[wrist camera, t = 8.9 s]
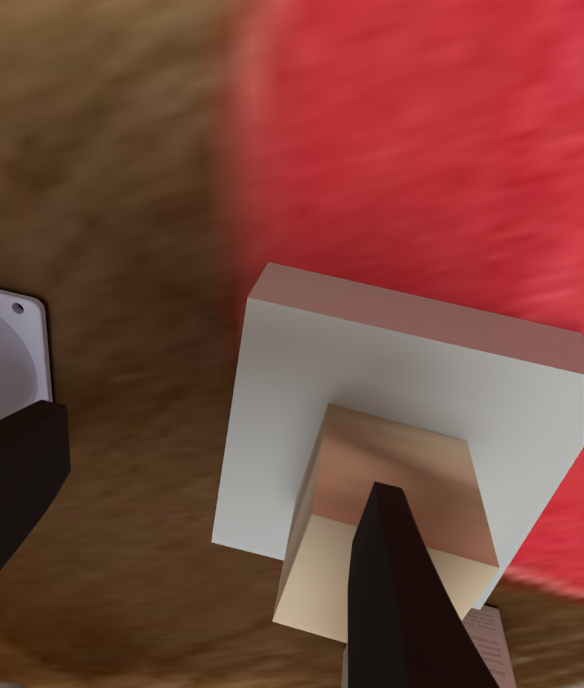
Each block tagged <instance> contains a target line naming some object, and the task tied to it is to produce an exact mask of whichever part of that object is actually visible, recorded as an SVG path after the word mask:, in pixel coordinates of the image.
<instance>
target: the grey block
mask: <svg viewBox="0 0 584 688" xmlns="http://www.w3.org/2000/svg"><path fill="white" fill-rule="evenodd" d="M328 403H331V404H335V405H338V406H342V407H345V408H349V409H352V410H356V411H359V412H363V413H366V414H370V415H374V416H377V417H381V418H384V419H388V420H391V421H395V422H398V423H402V424H405V425H409V426H412V427H416V428H419V429H423V430H426V431H430V432H434V433H437V434H441V435H444V436H448V437H451V438H455V439H458V440H462V441H465V442H467V443H468V447H469V451H470V455H471V458H472V462H473V466H474V470H475V474H476V478H477V482H478V486H479V490H480V494H481V497H482V501H483V505H484V509H485V513H486V517H487V521H488V525H489V529H490V532H491V536H492V540H493V544H494V548H495V552H496V556H497V560H498V564H499V570H498V571H497V572H496V574H495V575H494V577H493V578H492V579H491V581H490V582H489V584H488V585H487V586H486V588H485V589H484V591H483V592H482V593H481V595H480V596H479V598H478V599H477V600H476V602H475V603H474V605H473V606H472V607H471V608H474V609H478V610H480V609H481V608H482V606H483V605H484V603H485V601H486V600H487V598H488V597H489V595H490V594H491V592H492V590H493V589H494V587H495V586H496V584H497V582H498V581H499V579H500V578H501V576H502V575H503V573H504V571H505V570H506V568H507V567H508V565H509V564H510V562H511V560H512V559H513V557H514V556H515V554H516V553H517V551H518V549H519V548H520V546H521V545H522V543H523V541H524V540H525V538H526V537H527V535H528V534H529V532H530V530H531V529H532V527H533V526H534V524H535V523H536V521H537V519H538V518H539V516H540V515H541V513H542V511H543V510H544V508H545V507H546V505H547V504H548V502H549V500H550V499H551V497H552V496H553V494H554V493H555V491H556V489H557V488H558V486H559V485H560V483H561V482H562V480H563V478H564V477H565V475H566V474H567V472H568V470H569V469H570V467H571V466H572V464H573V463H574V461H575V459H576V458H577V456H578V455H579V453H580V452H581V450H582V448H583V447H584V336H583V335H582V334H581V333H580V332H575V331H571V330H567V329H562V328H558V327H553V326H549V325H545V324H540V323H536V322H531V321H527V320H523V319H518V318H514V317H509V316H505V315H500V314H496V313H492V312H487V311H483V310H478V309H474V308H470V307H465V306H461V305H456V304H452V303H448V302H443V301H439V300H434V299H430V298H425V297H421V296H417V295H412V294H408V293H403V292H399V291H395V290H390V289H386V288H381V287H377V286H373V285H368V284H364V283H359V282H355V281H350V280H346V279H342V278H337V277H333V276H328V275H324V274H320V273H315V272H311V271H306V270H302V269H298V268H293V267H289V266H284V265H280V264H275V263H271V262H268V263H267V265H266V267H265V268H264V270H263V272H262V274H261V275H260V277H259V279H258V280H257V282H256V284H255V285H254V287H253V289H252V290H251V292H250V294H249V296H248V297H247V304H246V311H245V317H244V324H243V331H242V338H241V345H240V351H239V358H238V365H237V372H236V378H235V385H234V392H233V399H232V406H231V412H230V419H229V426H228V433H227V439H226V446H225V453H224V460H223V467H222V473H221V480H220V487H219V494H218V501H217V507H216V514H215V521H214V528H213V534H212V541H211V542H213V543H217V544H221V545H225V546H229V547H233V548H236V549H240V550H244V551H248V552H252V553H256V554H260V555H264V556H268V557H272V558H276V559H280V560H284V558H285V553H286V548H287V543H288V537H289V532H290V527H291V522H292V517H293V511H294V506H295V501H296V498H297V495H298V492H299V489H300V486H301V483H302V480H303V477H304V474H305V471H306V468H307V465H308V462H309V459H310V456H311V453H312V450H313V447H314V444H315V441H316V438H317V435H318V432H319V429H320V426H321V423H322V420H323V417H324V414H325V411H326V408H327V406H328Z"/></svg>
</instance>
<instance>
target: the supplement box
mask: <svg viewBox="0 0 584 688" xmlns="http://www.w3.org/2000/svg"><path fill="white" fill-rule="evenodd" d="M462 623H463V625H464V627H465V629H466V630H467V632H468V634H469V636H470V638H471V639H472V641H473V643H474V645H475V647H476V648H477V650H478V652H479V654H480V655H481V657H482V659H483V661H484V662H485V664H486V665H487V667H488V669H489V670H490V672H491V674H492V675H493V677H494V679H495V680H496V682H497V684H498V685H499V687H500V688H516V683H515V679H514V675H513V670H512V666H511V661H510V656H509V653H508V648H507V644H506V640H505V636H504V631H503V627H502V623H501V618H500V613H499V610H498V609H496V608H493V607H489V606H485V605H483V606H482V608H481V609H480V610H478V609H474V608H471V609H470V610H469V612H468V613H467V614H466V616H465V617H464V618H463V620H462ZM341 688H348V643H347V645H346V647H345V650H344V653H343V670H342V685H341Z"/></svg>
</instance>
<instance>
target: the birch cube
mask: <svg viewBox="0 0 584 688" xmlns="http://www.w3.org/2000/svg"><path fill="white" fill-rule="evenodd" d="M374 481H376V482H380V483H384V484H388V485H392V486H396V487H400V488H402V489H403V491H404V493H405V495H406V498H407V501H408V503H409V506H410V509H411V511H412V514H413V517H414V519H415V522H416V524H417V527H418V529H419V532H420V534H421V536H422V539H423V541H424V544H425V546H426V548H427V550H428V553H429V555H430V557H431V560H432V562H433V564H434V566H435V568H436V570H437V572H438V575H439V577H440V579H441V581H442V583H443V585H444V588H445V590H446V592H447V594H448V596H449V598H450V600H451V602H452V604H453V606H454V608H455V609H456V611H457V613H458V615H459V617H460V619H461V621H462V620H463V618H464V617H465V616H466V614H467V613H468V612H469V610H470V609H471V607H472V606H473V605H474V603H475V602H476V600H477V599H478V598H479V596H480V595H481V593H482V592H483V591H484V589H485V588H486V586H487V585H488V584H489V582H490V581H491V579H492V578H493V577H494V575H495V574H496V572H497V571H498V570H499V564H498V560H497V556H496V552H495V548H494V544H493V540H492V536H491V532H490V529H489V525H488V521H487V517H486V513H485V509H484V505H483V501H482V497H481V494H480V490H479V486H478V482H477V478H476V474H475V470H474V466H473V462H472V458H471V455H470V451H469V447H468V443H467V442H465V441H462V440H458V439H455V438H451V437H448V436H444V435H441V434H437V433H434V432H430V431H426V430H423V429H419V428H416V427H412V426H409V425H405V424H402V423H398V422H395V421H391V420H388V419H384V418H381V417H377V416H374V415H370V414H366V413H363V412H359V411H356V410H352V409H349V408H345V407H342V406H338V405H335V404H331V403H328V406H327V408H326V411H325V414H324V417H323V420H322V423H321V426H320V429H319V432H318V435H317V438H316V441H315V444H314V447H313V450H312V453H311V456H310V459H309V462H308V465H307V468H306V471H305V474H304V477H303V480H302V483H301V486H300V489H299V492H298V495H297V498H296V501H295V506H294V511H293V517H292V522H291V527H290V532H289V537H288V543H287V548H286V553H285V558H284V563H283V569H282V574H281V579H280V584H279V589H278V594H277V600H276V605H275V610H274V615H273V620H272V621H273V622H276V623H280V624H283V625H286V626H290V627H293V628H297V629H300V630H303V631H307V632H310V633H314V634H317V635H320V636H324V637H327V638H331V639H334V640H337V641H341V642H344V643H348V578H349V567H350V558H351V549H352V541H353V538H354V535H355V533H356V530H357V527H358V525H359V522H360V519H361V517H362V514H363V511H364V508H365V506H366V503H367V500H368V498H369V495H370V492H371V490H372V487H373V484H374Z"/></svg>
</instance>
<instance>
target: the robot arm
mask: <svg viewBox="0 0 584 688" xmlns="http://www.w3.org/2000/svg"><path fill="white" fill-rule="evenodd" d="M18 303H19V304H20V305H21V306H22V307H23V309H24V310H23V309H21V308H20V307H19V305H18ZM70 471H71V468H70V452H69V437H68V421H67V406H66V405H62V404H58V403H54V402H53V401H52V388H51V376H50V364H49V352H48V340H47V327H46V315H45V308H44V306H43V304H42V303H41V302H40V301H39V300H38V299H36V298H33V297H29V296H25V295H21V294H17V293H12V292H8V291H4V290H0V570H1V569H2V568H3V566H4V565H5V564H6V562H7V561H8V560H9V559H10V557H11V556H12V555H13V554H14V552H15V551H16V550H17V548H18V547H19V546H20V545H21V543H22V542H23V541H24V539H25V538H26V537H27V536H28V534H29V533H30V532H31V530H32V529H33V528H34V527H35V525H36V524H37V523H38V521H39V520H40V519H41V517H42V516H43V515H44V513H45V512H46V511H47V509H48V508H49V506H50V505H51V503H52V501H53V500H54V498H55V496H56V495H57V493H58V492H59V490H60V488H61V486H62V485H63V483H64V481H65V480H66V478H67V476H68V474H69V473H70ZM348 688H500V687H499V685H498V684H497V682H496V680H495V679H494V677H493V675H492V674H491V672H490V670H489V669H488V667H487V665H486V664H485V662H484V661H483V659H482V657H481V655H480V654H479V652H478V650H477V648H476V647H475V645H474V643H473V641H472V639H471V638H470V636H469V634H468V632H467V630H466V629H465V627H464V625H463V623H462V621H461V619H460V617H459V615H458V613H457V611H456V609H455V608H454V606H453V604H452V602H451V600H450V598H449V596H448V594H447V592H446V590H445V588H444V585H443V583H442V581H441V579H440V577H439V575H438V572H437V570H436V568H435V566H434V564H433V562H432V560H431V557H430V555H429V553H428V550H427V548H426V546H425V544H424V541H423V539H422V536H421V534H420V532H419V529H418V527H417V524H416V522H415V519H414V517H413V514H412V511H411V509H410V506H409V503H408V501H407V498H406V495H405V493H404V491H403V489H402V488H400V487H396V486H392V485H388V484H384V483H380V482H376V481H374V484H373V487H372V490H371V492H370V495H369V498H368V500H367V503H366V506H365V508H364V511H363V514H362V517H361V519H360V522H359V525H358V527H357V530H356V533H355V535H354V538H353V541H352V549H351V558H350V567H349V578H348Z"/></svg>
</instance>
